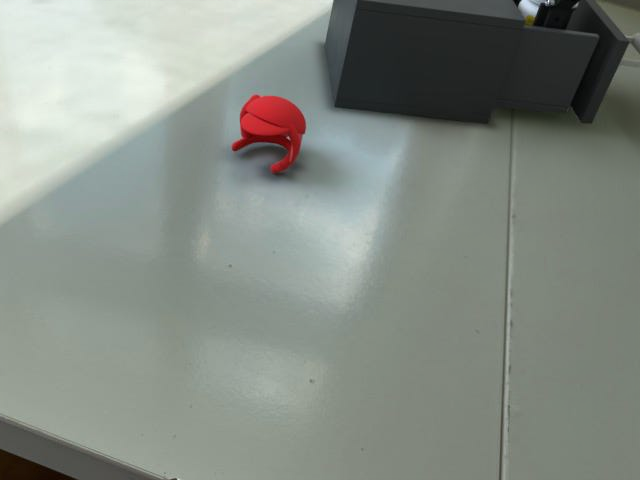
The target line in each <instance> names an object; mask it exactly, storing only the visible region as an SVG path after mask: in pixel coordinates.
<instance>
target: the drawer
mask: <svg viewBox="0 0 640 480" xmlns="http://www.w3.org/2000/svg"><path fill="white" fill-rule="evenodd" d="M513 1H514V3H515V4H516V6H517V3H518V1H519V0H513ZM629 44H630V45H631V46H632V47H633V48H634V49H635V51H636V52H637V53H638V54H639V55H640V32H635V33H633V35H625V34H624V33H623V32H622V31H621V29H620V28H619V26H617V24H616V23H615V22H614V21H613V20H612V18H611V17H610V16H609V15H608V14H607V13H606V11H605V10H604V9H603V8H602V6H601V5H600V4H599V3H598V2H597V1H596V0H580V1H579V3H578V6H577V8H576V10H575V11H573V13H572V16H571V18H570V21H569V23H568V25H567V28H566V30H562V29H554V28H546V27H538V26H530V25H524V27H523V30H522V33H521V36H520V38H519V41H518V44H517V46H516V49H515V52H514V55H513V57H512V60H511V63H510V66H509V68H508V71H507V74H506V76H505V79H504V82H503V85H502V87H501V90H500V93H499V96H498V98H497V101H496V104H495V106H494V107H500V108H508V109H515V110H516V109H518V110H524V111H525V110H526V111H533V112H543V113H551V114H558V115H567V113H568V111H569V109H570V108H571V109H572V111H573V113H574V114H575V116H576V118H577V119H578V121H579V122H580V124H588V125H592V124H593V122H594V120H595V118H596V116H597V113H598V112H599V109H600V107H601V105H602V103H603V100H604V98H605V96H606V94H607V92H608V90H609V87H610V85H611V83H612V81H613V79H614V77H615V75H616V73H617V70H618V69H619V66H622V67H623V66H624V67H630V68H631V67H632V68H638V69H639V68H640V59H636V58H629V57H628V58H627V57H624V55H625V54H626V51H627V49H628V47H629Z"/></svg>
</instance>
